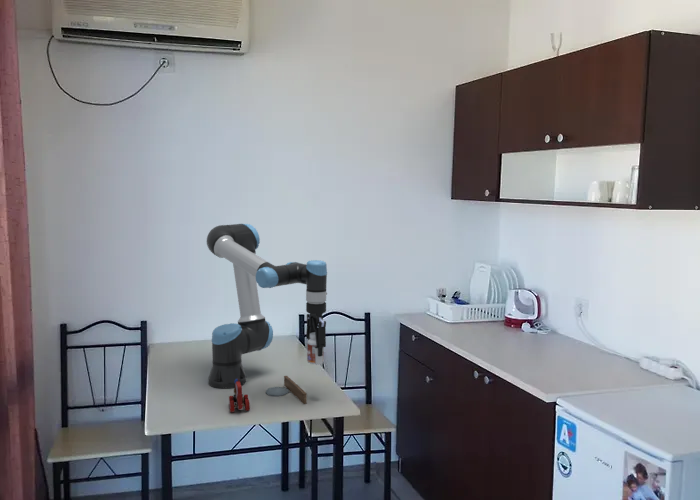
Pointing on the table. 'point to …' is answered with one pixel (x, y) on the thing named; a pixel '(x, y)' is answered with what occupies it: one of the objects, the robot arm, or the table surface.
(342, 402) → the table surface
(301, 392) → the divider rail
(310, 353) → the pill bottle
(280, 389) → the slate pad
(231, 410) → the toy fire truck
